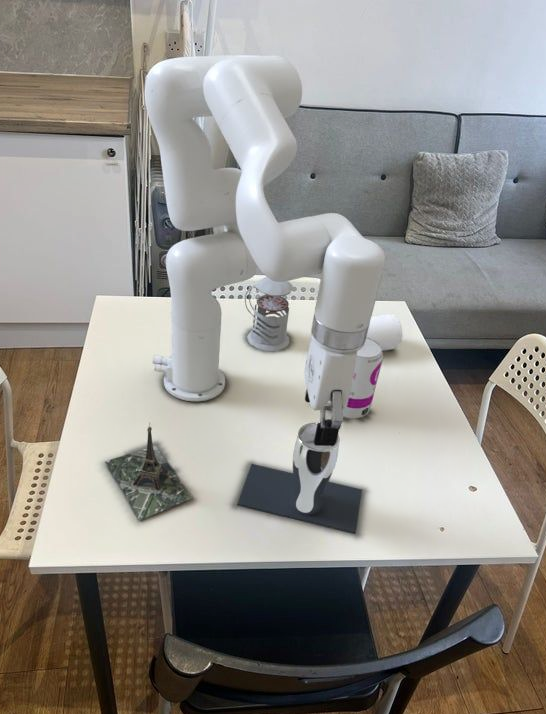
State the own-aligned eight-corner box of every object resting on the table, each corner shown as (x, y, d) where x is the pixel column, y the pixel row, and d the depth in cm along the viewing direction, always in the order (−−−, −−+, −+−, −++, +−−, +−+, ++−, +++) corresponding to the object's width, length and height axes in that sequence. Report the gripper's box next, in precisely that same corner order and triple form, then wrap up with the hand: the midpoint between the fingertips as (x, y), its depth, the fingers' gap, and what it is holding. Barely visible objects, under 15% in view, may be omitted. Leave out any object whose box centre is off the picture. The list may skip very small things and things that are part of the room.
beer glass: (283, 486, 110) (293, 421, 101) (322, 486, 111) (336, 421, 102) (288, 517, 105) (299, 451, 95) (329, 517, 106) (345, 451, 96)
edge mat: (237, 505, 106) (237, 503, 106) (251, 465, 114) (251, 463, 114) (355, 534, 104) (355, 532, 103) (361, 490, 111) (362, 489, 111)
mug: (397, 355, 146) (406, 325, 141) (359, 361, 143) (366, 331, 138) (373, 327, 154) (379, 298, 149) (336, 332, 151) (341, 303, 146)
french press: (276, 356, 142) (289, 252, 126) (232, 338, 146) (239, 235, 130) (297, 337, 148) (312, 236, 133) (255, 320, 153) (264, 221, 137)
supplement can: (374, 402, 131) (389, 342, 122) (362, 425, 125) (377, 363, 116) (337, 390, 134) (349, 329, 124) (323, 412, 128) (335, 350, 118)
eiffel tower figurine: (102, 463, 111) (97, 404, 103) (155, 445, 116) (154, 387, 108) (139, 522, 102) (136, 462, 94) (194, 499, 107) (197, 441, 98)
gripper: (304, 294, 92) (288, 385, 103) (322, 366, 79) (302, 462, 90) (354, 296, 93) (333, 387, 104) (380, 368, 80) (353, 463, 91)
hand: (319, 422), depth 97 cm, fingers open, 9 cm apart
